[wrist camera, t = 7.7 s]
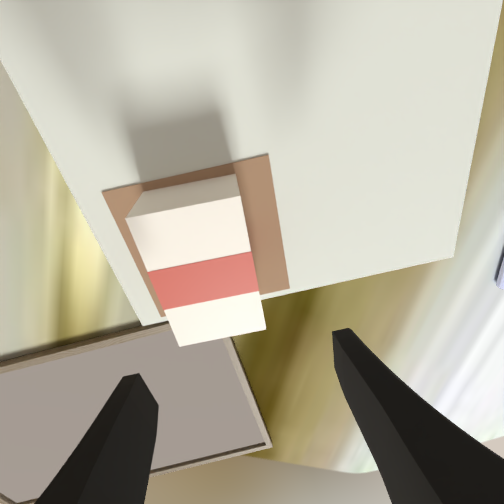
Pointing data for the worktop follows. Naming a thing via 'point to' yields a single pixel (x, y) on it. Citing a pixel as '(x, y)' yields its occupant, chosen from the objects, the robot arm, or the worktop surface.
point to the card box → (199, 258)
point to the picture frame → (99, 390)
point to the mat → (263, 121)
